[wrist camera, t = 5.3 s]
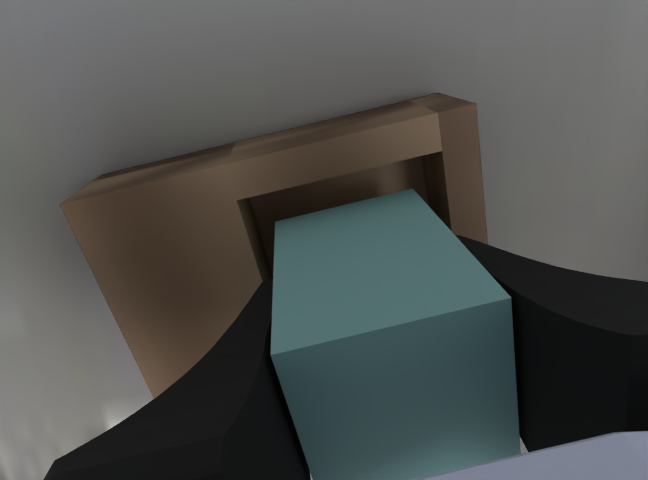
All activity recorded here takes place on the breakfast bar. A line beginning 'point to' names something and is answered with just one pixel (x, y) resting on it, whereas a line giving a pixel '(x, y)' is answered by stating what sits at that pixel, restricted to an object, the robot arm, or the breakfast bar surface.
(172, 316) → the walnut base
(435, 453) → the teal block
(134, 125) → the breakfast bar surface
